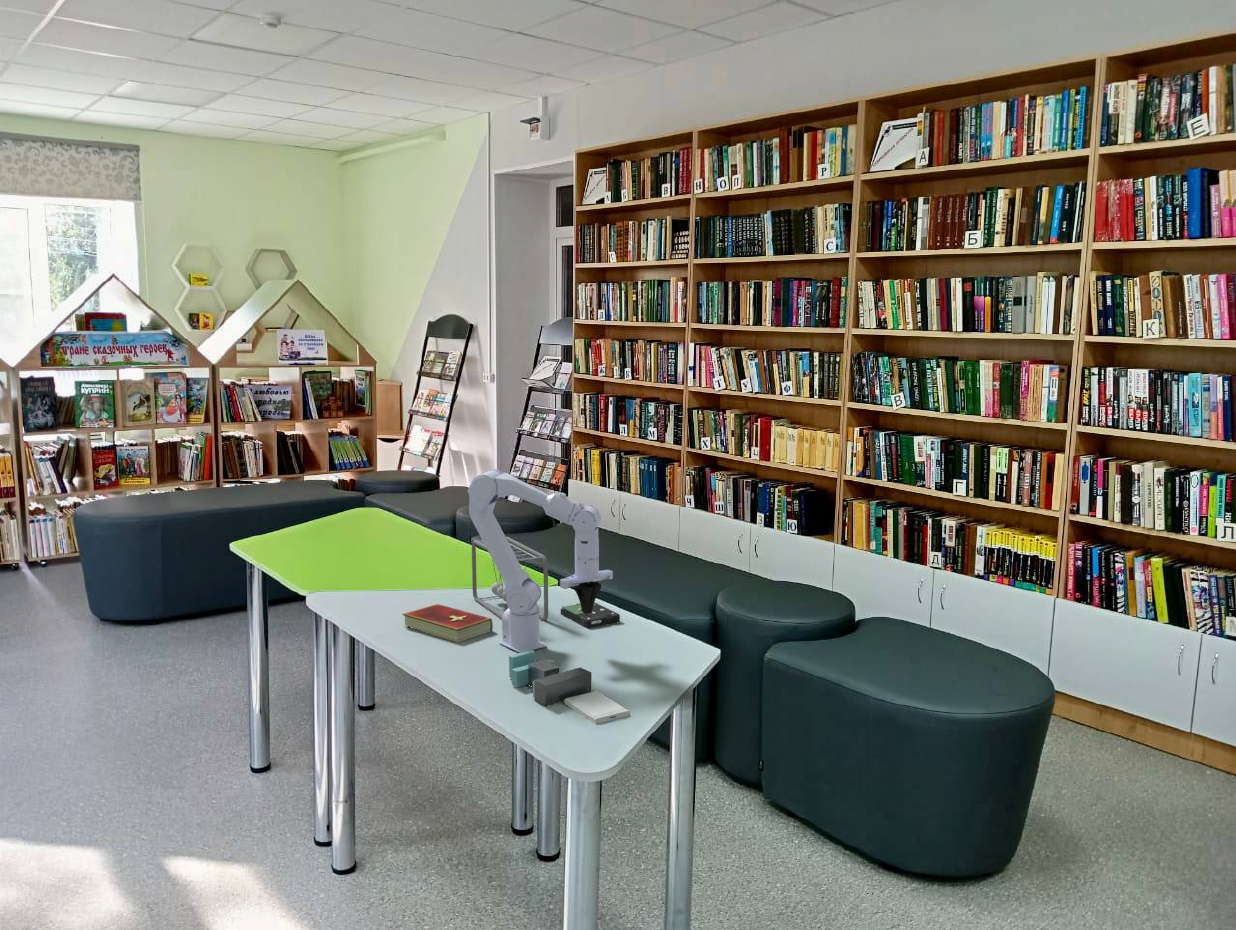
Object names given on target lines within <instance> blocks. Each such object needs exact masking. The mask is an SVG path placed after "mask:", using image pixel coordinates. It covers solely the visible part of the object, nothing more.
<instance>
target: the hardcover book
mask: <svg viewBox="0 0 1236 930" xmlns="http://www.w3.org/2000/svg"><path fill="white" fill-rule="evenodd" d="M402 616H404V626H405V625H406V626H409V627H412V628H415V629H417V630H416V631H418V630H421V631H420V632H422V631H423V632H422V633H425V632H426V633H425V634H428V633H429V635H432V636H435V637H438V638H443V639H446V640H449V641H452V642H456V643H460V642H463V641H465V640H469V639H472V638H474V637H478V636H480V635H483V634H487V633H490V632H493V630H494V629H493V625H494V624H493V619H492V618H491V617H487V616H484V615H480V614H478V613H477V614H476V613H473V612H469V611H465V610H461V609H458V608H453V607H450V606H446V605H443V604H439V603H435V604H431V605H427V606H425V607H422V608H417V609H414V610H411V611H407V612H404V613H402ZM412 628H411V629H412ZM415 629H414V630H415Z"/></svg>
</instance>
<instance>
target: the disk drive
mask: <svg viewBox="0 0 1236 930" xmlns="http://www.w3.org/2000/svg"><path fill="white" fill-rule="evenodd" d="M560 615H562V617H565V618H566V619H568V620H570V619H571V620H570V621H572V622H574V623H576V624H578V625H580V626H581V627H583V628H585V629H591V628H596V627H597V628H598V627H602V626H607V624H609V625H614V624H618V623H617V622H621V618H620V617H621V615H620V614H619V613H618V612H615V611H613V610H612V609H609V608H607V607H606V606H603V605H601V604H599V603H597V602H594V605H593V609H592V613H589V614H586V613H583V612H582V608H581V604H580V602H579V603H576V604H572V605H566V606H565V605H563V606H561V608H560ZM613 623H614V624H613Z"/></svg>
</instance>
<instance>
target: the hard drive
mask: <svg viewBox="0 0 1236 930" xmlns="http://www.w3.org/2000/svg"><path fill="white" fill-rule="evenodd" d="M563 703H565V704H564V705H566V706H567V705H568V707H569V708H571V709H572V710H574V711H575V713H578V714H580V715H581V716H582V717H584V718H586V719H587V720H589V722H592V723H594V724H595V725H597V724H600V723H604V722H608V721H612V720H616V719H619V718H624V717H627V716H631V711H630V710H628V709H627V708H625V707H623V706H622V705H621V704H619V703H618V702H615V701H614V700H612V699H610V698H609V697H607V696H606V695H604V694H602V693H600V692H599V691H598V690H596V691H592V692H591V693H587V694H582V695H578V696H574V697H570V698H566V699H565V701H563Z"/></svg>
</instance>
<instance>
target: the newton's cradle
mask: <svg viewBox="0 0 1236 930" xmlns="http://www.w3.org/2000/svg"><path fill="white" fill-rule="evenodd" d="M505 537H506V539H507V541H508V543H509V544H510V546H511V547H514V550H515V551H517V550H519V551H518V553H520V552H521V554H518V555H517V552H514V554H515V556H516V557H517V556H520V557H522V556H526V558H519V559H518V558H517V560H518V562H519V563H522V562H521V561H525V566H524V570H526V566H527V561H528V560H529V561H530V560H536V559H537V560H538V559H541V560H542V566H543V614H542V613H541V612H539V620H542V621H547V619H548V618H549V564H548V563H549V562H548V559H547V557H546V556H545V555H544V554H542V553H540V552H539V551H537V550H534V549H533V548H530V547H528V546H527V545H525V544H523V543H521V542H518V541H517V540H514V539H512V538H511V537H508V536H505ZM477 546H478V547H479V548H481V549H483V550H485V551H487V552H488V550H487V548H486V546H485V544H484V542H483V540H477V539H474V540H473V541H472V543H471V571H472V573H471V575H472V581H471V582H472V596H473V599H474V601H475V602H477V603H478V604H480V605H481V607H483V608H485V609H487V611H489V612H491V613H492V614H494V615H495V616H496V617H498V618H499V619H500V620H502V617H503V614H502V613H501V612H500V611H498V610H496V609H495V608H493V607H492V606H491V605H489V604H488V603H487V602H485V601H484V600H485V599H486V600H487V599H494V598H499V599H502V600H503V602H506V603H507V599H506V594H505V592H504V590H503V579H501V578H502V576H501V574H500V573H499V580H498V579H497V575H496V568H495V563H494V561H493V559H492V558H491V560H492V564H493V571H494V574H495V581H496V582H494V583H493V584H492V586H491V588H490V589H491V592H492V593H493V594H494V596H486V597H478V592H477V590H478V589H477V588H478V587H477V586H478V585H477V584H478V583H477V549H476V548H477ZM523 553H525V554H523ZM528 556H531V557H528ZM500 581H501V582H500Z"/></svg>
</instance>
